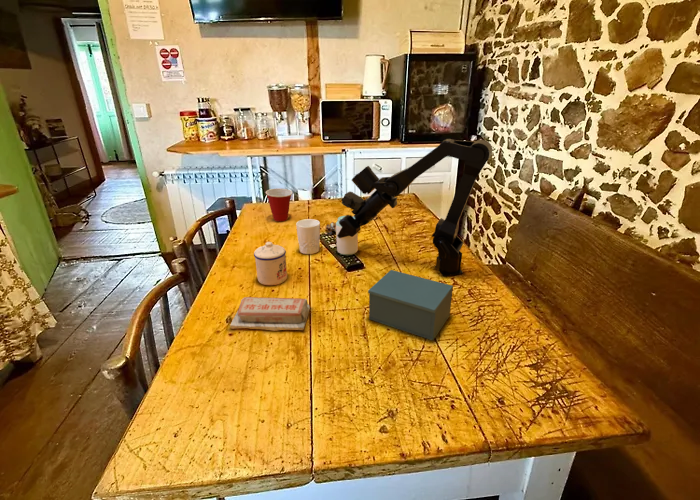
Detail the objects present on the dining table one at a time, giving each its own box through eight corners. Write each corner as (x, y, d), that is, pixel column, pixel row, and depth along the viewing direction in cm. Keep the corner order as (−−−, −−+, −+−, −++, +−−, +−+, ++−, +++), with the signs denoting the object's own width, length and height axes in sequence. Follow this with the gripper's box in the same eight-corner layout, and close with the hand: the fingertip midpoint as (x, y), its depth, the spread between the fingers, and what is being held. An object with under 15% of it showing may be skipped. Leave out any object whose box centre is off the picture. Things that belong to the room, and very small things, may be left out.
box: (432, 340, 90) (435, 311, 86) (369, 319, 98) (369, 292, 94) (449, 315, 99) (452, 288, 95) (390, 298, 107) (390, 272, 103)
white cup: (293, 253, 134) (291, 225, 129) (304, 244, 140) (303, 217, 136) (314, 256, 131) (313, 228, 127) (324, 247, 138) (323, 220, 133)
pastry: (356, 235, 147) (356, 226, 146) (324, 235, 148) (324, 226, 146) (356, 228, 154) (356, 219, 152) (326, 228, 154) (325, 219, 153)
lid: (434, 313, 86) (434, 310, 86) (368, 293, 94) (368, 290, 94) (452, 288, 95) (453, 285, 95) (390, 272, 103) (390, 269, 103)
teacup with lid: (283, 286, 113) (280, 249, 108) (252, 285, 114) (248, 248, 109) (293, 267, 124) (290, 233, 119) (265, 266, 125) (261, 232, 120)
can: (350, 257, 129) (349, 223, 124) (333, 253, 132) (331, 219, 127) (361, 250, 134) (361, 216, 129) (344, 246, 138) (343, 213, 133)
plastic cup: (292, 223, 159) (290, 195, 154) (265, 223, 159) (262, 195, 154) (296, 214, 169) (294, 187, 164) (271, 214, 169) (268, 187, 164)
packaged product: (309, 292, 100) (303, 314, 91) (310, 308, 102) (304, 332, 93) (240, 291, 102) (226, 312, 92) (242, 307, 104) (229, 329, 95)
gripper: (368, 178, 130) (339, 206, 139) (344, 193, 115) (313, 224, 123) (390, 203, 130) (360, 230, 139) (369, 222, 115) (336, 250, 124)
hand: (343, 232), depth 131 cm, fingers closed on can, 7 cm apart
